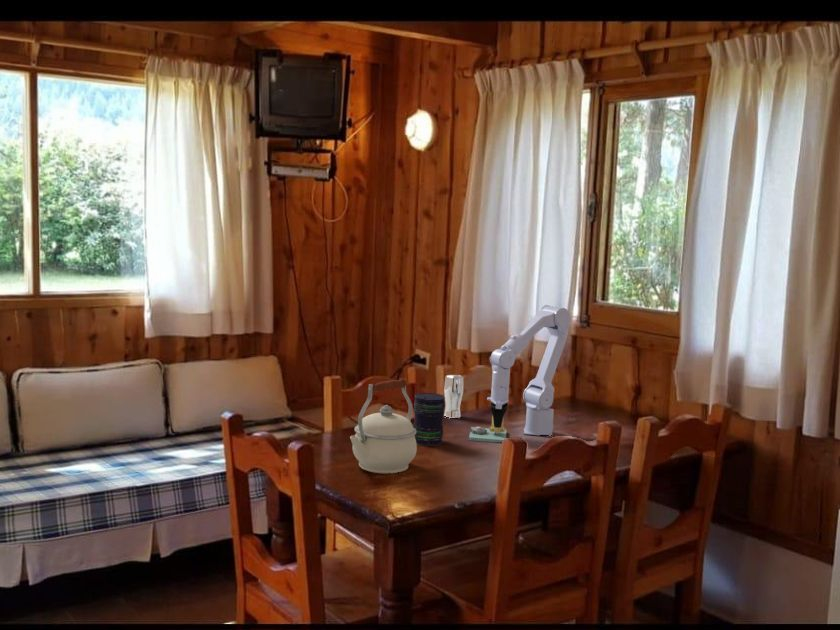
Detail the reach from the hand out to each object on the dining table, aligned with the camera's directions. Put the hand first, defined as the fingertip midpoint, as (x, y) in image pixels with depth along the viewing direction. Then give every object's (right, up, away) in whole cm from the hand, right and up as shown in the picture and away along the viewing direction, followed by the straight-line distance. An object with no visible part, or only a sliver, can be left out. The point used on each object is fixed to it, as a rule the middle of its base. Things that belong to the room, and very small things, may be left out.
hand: (497, 425), depth 275 cm
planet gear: (0, -2, 0) cm, 2 cm away
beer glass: (-14, 0, +26) cm, 30 cm away
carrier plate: (-3, -4, +1) cm, 5 cm away
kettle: (-37, -7, -40) cm, 55 cm away
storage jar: (-24, -4, -10) cm, 26 cm away
